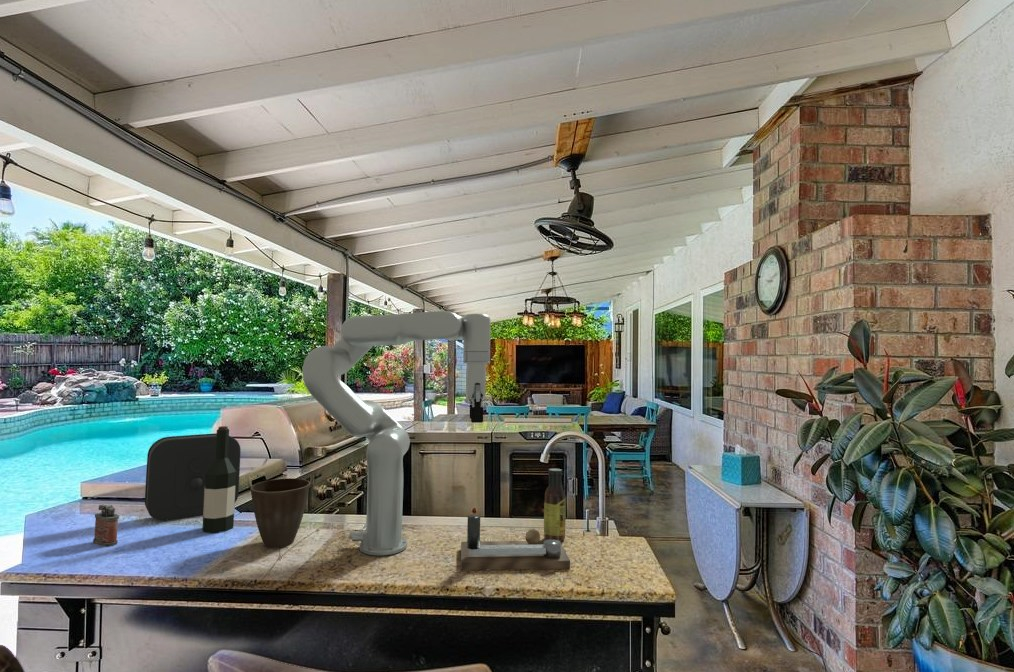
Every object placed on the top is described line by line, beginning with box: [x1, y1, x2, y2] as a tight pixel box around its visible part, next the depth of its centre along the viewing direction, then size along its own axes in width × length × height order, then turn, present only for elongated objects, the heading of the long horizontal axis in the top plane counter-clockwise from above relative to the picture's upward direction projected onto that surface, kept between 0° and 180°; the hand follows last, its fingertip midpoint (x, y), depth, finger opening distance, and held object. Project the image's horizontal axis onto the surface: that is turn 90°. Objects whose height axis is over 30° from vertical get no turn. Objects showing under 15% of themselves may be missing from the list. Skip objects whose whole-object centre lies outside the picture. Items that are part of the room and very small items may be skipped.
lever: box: [466, 514, 562, 558], centre depth 125 cm, size 24×4×10 cm, turn 95°
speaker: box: [144, 432, 241, 522], centre depth 161 cm, size 25×9×25 cm, turn 131°
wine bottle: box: [201, 425, 236, 534], centre depth 148 cm, size 8×8×30 cm
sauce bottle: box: [543, 467, 567, 542], centre depth 145 cm, size 7×6×20 cm
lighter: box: [92, 504, 120, 548], centre depth 135 cm, size 8×3×10 cm, turn 65°
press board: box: [460, 528, 571, 572], centre depth 129 cm, size 27×14×6 cm, turn 95°
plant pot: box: [250, 477, 311, 549], centre depth 137 cm, size 15×15×16 cm
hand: (476, 420), depth 137 cm, fingers open, 9 cm apart
